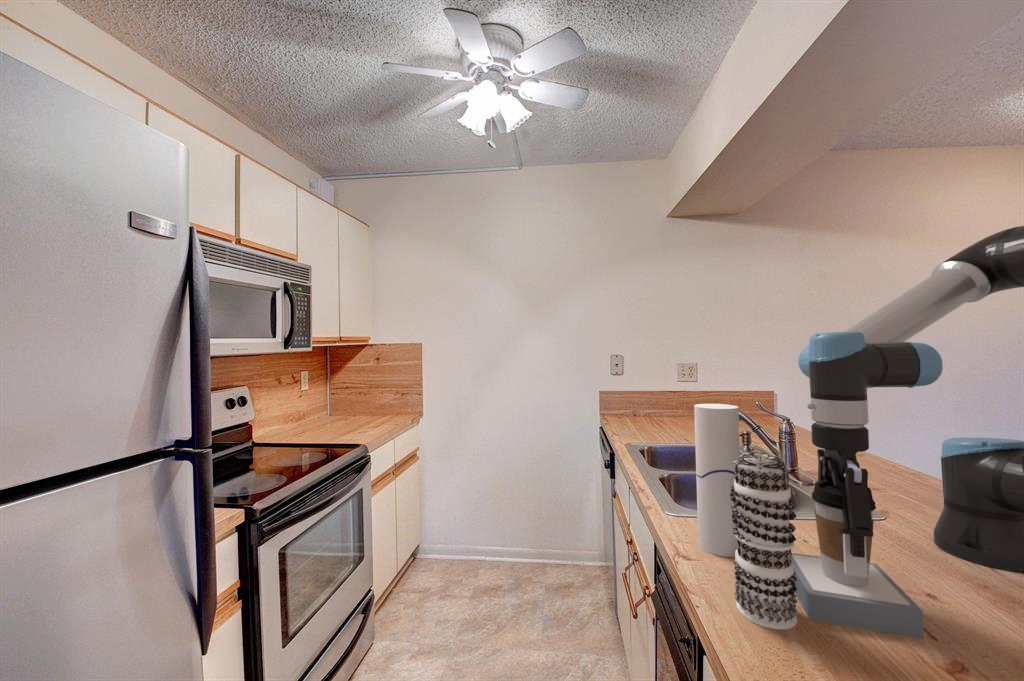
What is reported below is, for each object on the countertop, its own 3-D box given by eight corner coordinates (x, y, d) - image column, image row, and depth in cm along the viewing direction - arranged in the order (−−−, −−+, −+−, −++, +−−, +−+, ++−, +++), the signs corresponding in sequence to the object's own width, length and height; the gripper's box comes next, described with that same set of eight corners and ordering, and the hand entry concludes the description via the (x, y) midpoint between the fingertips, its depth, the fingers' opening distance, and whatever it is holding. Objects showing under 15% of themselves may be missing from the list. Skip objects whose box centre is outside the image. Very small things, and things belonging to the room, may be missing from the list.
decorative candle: (720, 606, 69) (716, 453, 69) (753, 589, 73) (749, 446, 74) (779, 639, 61) (773, 466, 61) (812, 618, 65) (806, 457, 66)
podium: (877, 586, 73) (876, 562, 74) (924, 639, 60) (922, 609, 60) (784, 573, 78) (784, 551, 78) (809, 619, 65) (808, 592, 65)
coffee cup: (888, 581, 67) (885, 488, 68) (862, 597, 64) (859, 498, 64) (829, 558, 75) (827, 475, 75) (803, 571, 71) (800, 483, 71)
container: (749, 558, 84) (744, 409, 85) (703, 555, 86) (699, 408, 86) (735, 539, 92) (731, 403, 93) (694, 536, 94) (690, 403, 95)
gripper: (794, 413, 81) (798, 531, 81) (836, 435, 61) (842, 592, 61) (840, 415, 79) (845, 537, 78) (900, 438, 59) (907, 601, 58)
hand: (844, 561), depth 69 cm, fingers open, 8 cm apart
